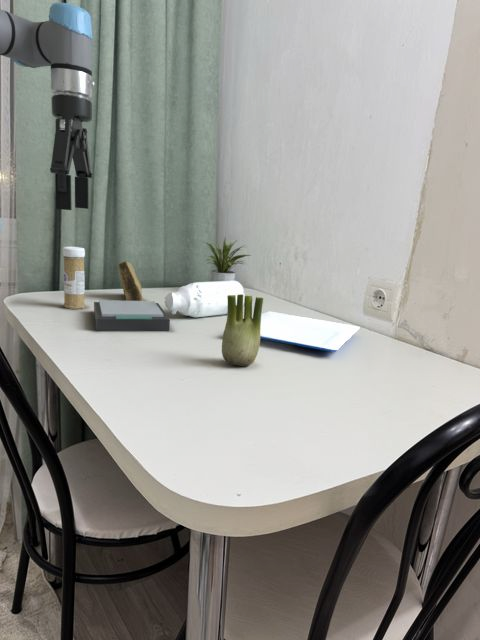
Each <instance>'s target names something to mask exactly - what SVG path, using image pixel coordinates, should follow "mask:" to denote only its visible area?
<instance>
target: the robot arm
mask: <svg viewBox="0 0 480 640" xmlns="http://www.w3.org/2000/svg"><path fill="white" fill-rule="evenodd" d="M92 29H93V27H92V17H91V14H90V13H89V12H88V11H87V10H86V9H84V8H82V7H81V6H78V5H76V4H72V3H67V2H54V3H52V4H51V6H50V7H49V12H48V20H45V21H32V20H29V19H27V18H25V17H22V16H20V15H17V14H14V13H12V12H9V11H7V10H4V9H0V56H1V57H6V58H9V59H11V60H12V61H13V62H14V63H15V64H16V65H18V66H20V67H23V68H32V69H36V68H43V67H44V68H45V67H50V92H51V93H52V94H53V95H52V96H51V115H52V116H53V117H54V118H56V119H55V133H54V140H53V147H52V156H51V163H50V169H49V172H50V174H55V207H56V208H55V209H56V210H64V211H72V208H73V207H72V175H71V174H70V171H71V166H72V161H73V167H74V171H75V175H76V176H74V208H76V209H86V210H87V209H90V207H89V204H90V203H89V199H90V198H89V179H93V173H92V169H91V161H90V153H89V144H88V129H87V128H85V127H83V122H84V123H88V122H89V123H90V122H92V121H93V102H92V101H91V100H90V99H92V97H93V89H92V87H95V86H96V83H95V81H93V79H92V78H93V76H92V75H93V38H94V36H93V30H92ZM1 230H2V220H1V219H0V232H1Z"/></svg>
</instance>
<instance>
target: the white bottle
mask: <svg viewBox="0 0 480 640" xmlns="http://www.w3.org/2000/svg"><path fill="white" fill-rule="evenodd" d="M244 290H245V288H244V286H243V285H242V284H241V283H240V282H239V281H238V280H236V279H234V281H233V280H232V281H216V282H212V281H197V282H191V283H188V284H186V285H182V286H180V287H179V288H178V289H176V291H175V292H173V291H171V292H168V293H167V294H166V295H165V297H164V306H165V308H167V309H168V311H170V312H171V315H176V314H177V312H178V313H179V314H181V315H183V316H185V317H186V316H187V317H190V318H194V319H195V318H203V317H211V316H212V317H213V316H222V315H227V311H228V310H227V309H228V300H227V296H228V295H236V305H237V295H238V294H243V295H244V296H243V307H244V299H245V296H246V295H245V292H244Z"/></svg>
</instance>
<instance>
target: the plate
mask: <svg viewBox="0 0 480 640" xmlns="http://www.w3.org/2000/svg"><path fill="white" fill-rule="evenodd" d="M252 319H253V317H252ZM360 329H361V327H360V326H358V325H353V324H347V323H346V324H345V323H341V322H335V321H329V320H323V319H317V318H311V317H306V316H300V315H299V316H298V315H293V314H287V313H281V312H276V311H270V310H269V311H266V312H264V313H261V330H260V334H261V335H260V340H264V341H271V342H275V343H281V344H286V345H292V346H297V347H302V348H308V349H313V350H316V351H317V350H318V351H319V350H320V351H326V352H336V353H337V351H338V350H340V348H342V346H344V344H345V343H347V342H348V340H350V339H351V338H352V337H353V336H354V335H355V334H356V333H357V332H358V331H359V330H360Z"/></svg>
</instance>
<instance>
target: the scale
mask: <svg viewBox="0 0 480 640" xmlns="http://www.w3.org/2000/svg"><path fill="white" fill-rule="evenodd" d="M93 315H94V321H95V329H96V331H97V332H170V326H171V325H170V324H171V319H170V317H169V316H168V315H167V314H166V312H165V311H164V309H163V308H162V307H161V305H160V304H159V302H155V300H143V301H126V300H115V299H114V300H113V299H112V300H108V299H104V300H102V299H98V301H94V302H93Z"/></svg>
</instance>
